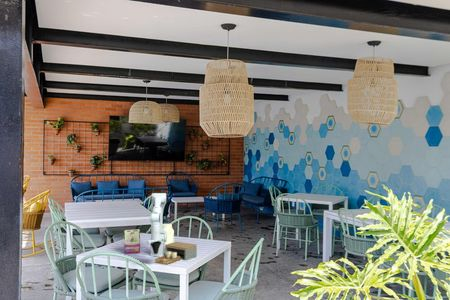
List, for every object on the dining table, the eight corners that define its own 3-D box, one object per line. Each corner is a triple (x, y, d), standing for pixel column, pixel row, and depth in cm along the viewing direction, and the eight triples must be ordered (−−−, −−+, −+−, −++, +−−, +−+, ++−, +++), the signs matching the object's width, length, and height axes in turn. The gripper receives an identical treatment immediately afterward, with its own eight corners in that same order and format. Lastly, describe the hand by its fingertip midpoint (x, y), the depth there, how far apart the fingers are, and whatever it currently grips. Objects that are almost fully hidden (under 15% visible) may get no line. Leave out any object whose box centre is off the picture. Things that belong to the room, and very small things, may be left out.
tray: (155, 262, 274) (155, 254, 274) (168, 258, 286) (168, 250, 286) (166, 264, 269) (166, 256, 269) (180, 259, 281) (180, 252, 281)
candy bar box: (140, 251, 305) (140, 229, 305) (140, 253, 300) (140, 230, 300) (124, 252, 302) (124, 229, 302) (124, 254, 297) (124, 230, 297)
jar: (169, 241, 338) (169, 222, 338) (176, 243, 330) (176, 224, 330) (157, 243, 331) (157, 224, 331) (163, 245, 323) (163, 226, 323)
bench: (165, 256, 289) (165, 244, 289) (176, 253, 299) (176, 241, 299) (186, 260, 279) (186, 248, 279) (196, 256, 290) (196, 244, 290)
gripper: (152, 234, 259) (152, 256, 259) (167, 231, 271) (167, 252, 271) (144, 233, 262) (144, 255, 262) (159, 229, 275) (159, 250, 275)
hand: (155, 253), depth 267 cm, fingers closed
